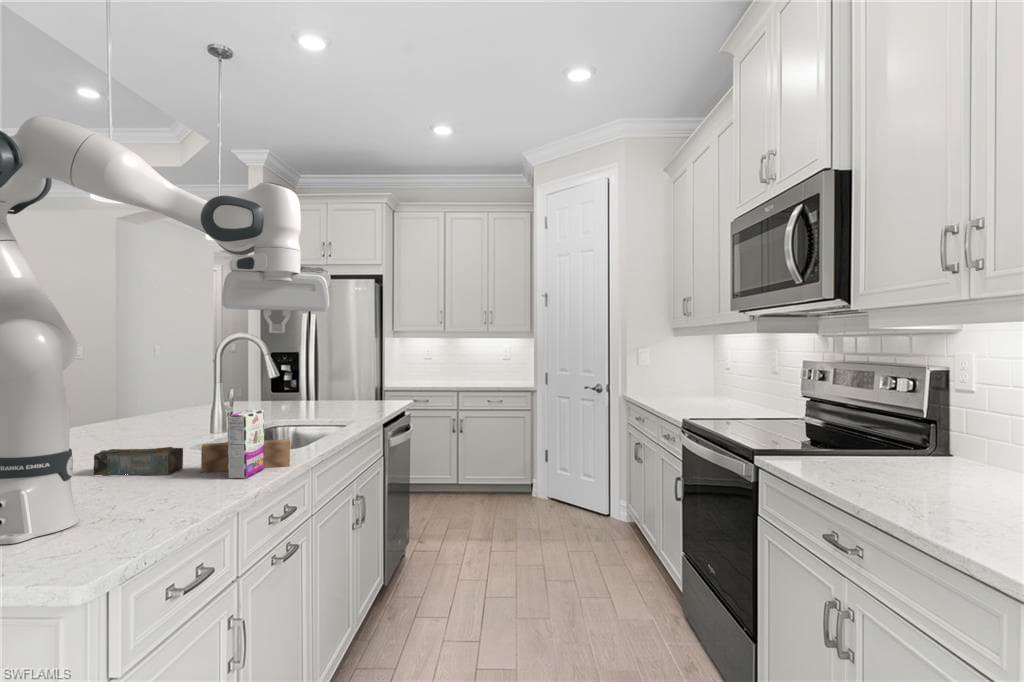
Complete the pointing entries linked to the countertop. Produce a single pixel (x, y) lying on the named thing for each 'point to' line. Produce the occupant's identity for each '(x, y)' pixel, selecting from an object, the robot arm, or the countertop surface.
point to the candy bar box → (245, 444)
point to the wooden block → (217, 455)
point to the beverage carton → (138, 461)
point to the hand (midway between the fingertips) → (276, 332)
